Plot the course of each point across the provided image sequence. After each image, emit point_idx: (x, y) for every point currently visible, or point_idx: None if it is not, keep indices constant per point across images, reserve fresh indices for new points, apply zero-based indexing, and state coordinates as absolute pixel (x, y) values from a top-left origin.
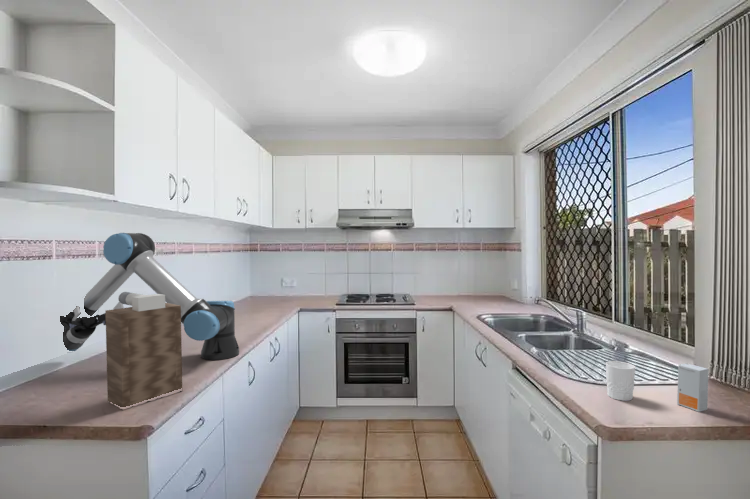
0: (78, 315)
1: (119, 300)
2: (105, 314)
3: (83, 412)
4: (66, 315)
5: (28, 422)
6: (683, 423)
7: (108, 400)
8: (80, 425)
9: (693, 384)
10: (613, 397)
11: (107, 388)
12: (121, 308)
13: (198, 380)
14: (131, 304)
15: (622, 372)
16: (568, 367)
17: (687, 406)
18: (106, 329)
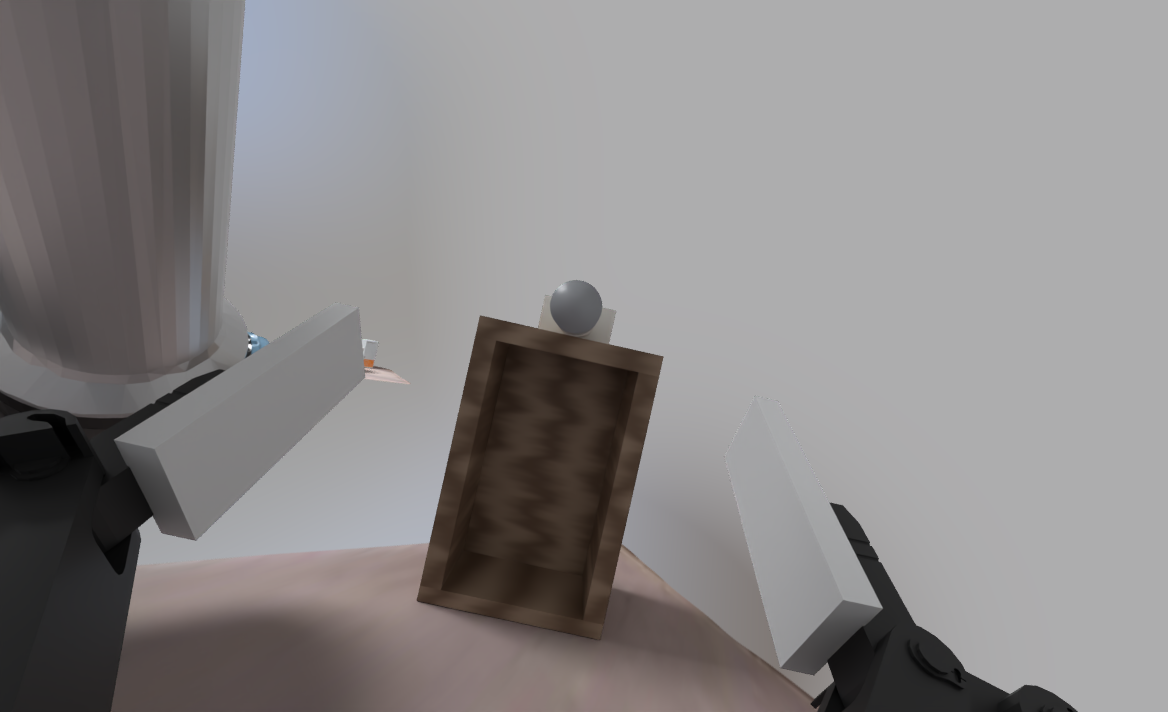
0: (740, 501)
1: (598, 319)
2: (45, 708)
3: (667, 639)
4: (955, 657)
5: (799, 701)
6: (394, 374)
7: (601, 629)
8: (682, 596)
9: (373, 351)
10: None
11: (609, 596)
12: (618, 346)
13: (349, 558)
14: (590, 331)
15: (363, 350)
16: None
17: (366, 366)
18: (649, 413)
